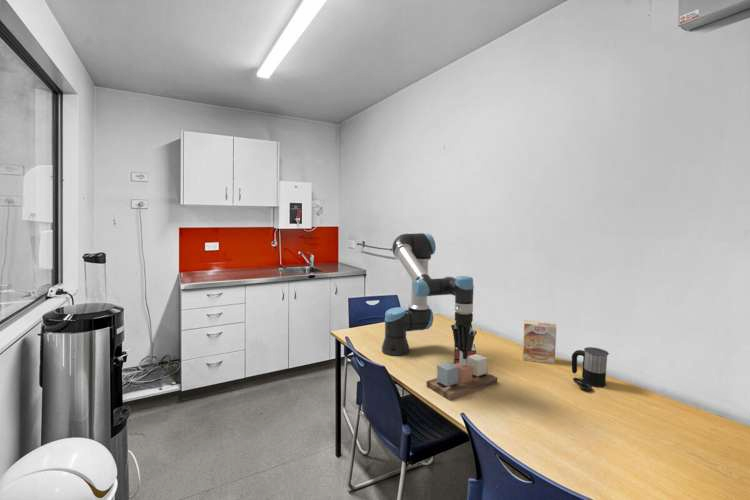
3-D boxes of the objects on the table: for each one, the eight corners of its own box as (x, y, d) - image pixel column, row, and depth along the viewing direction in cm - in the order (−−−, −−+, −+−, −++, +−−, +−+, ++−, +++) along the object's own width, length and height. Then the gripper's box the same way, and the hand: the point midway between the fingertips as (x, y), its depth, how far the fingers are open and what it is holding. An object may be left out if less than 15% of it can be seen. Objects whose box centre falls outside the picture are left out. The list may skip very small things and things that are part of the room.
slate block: (437, 381, 155) (437, 365, 154) (447, 377, 158) (447, 362, 158) (447, 386, 150) (447, 370, 149) (457, 383, 153) (457, 367, 153)
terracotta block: (452, 380, 160) (452, 364, 159) (462, 376, 163) (462, 361, 163) (462, 385, 155) (462, 369, 154) (472, 381, 158) (472, 366, 158)
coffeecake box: (522, 360, 187) (524, 323, 185) (522, 355, 193) (524, 319, 192) (555, 364, 181) (556, 326, 179) (553, 359, 188) (555, 322, 186)
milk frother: (603, 380, 164) (605, 348, 163) (613, 396, 149) (615, 361, 148) (568, 375, 169) (569, 344, 167) (574, 390, 154) (576, 357, 152)
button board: (426, 386, 157) (426, 381, 157) (473, 371, 173) (473, 366, 173) (449, 400, 146) (449, 394, 145) (497, 382, 161) (497, 377, 161)
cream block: (467, 371, 165) (467, 356, 164) (476, 368, 168) (476, 353, 167) (477, 376, 160) (477, 360, 159) (486, 373, 163) (486, 358, 162)
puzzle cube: (475, 371, 174) (476, 350, 173) (454, 369, 176) (454, 349, 175) (474, 362, 183) (474, 343, 183) (454, 361, 185) (454, 342, 185)
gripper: (446, 310, 160) (446, 362, 162) (469, 316, 149) (468, 372, 151) (459, 307, 164) (458, 358, 166) (481, 314, 153) (480, 368, 155)
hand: (462, 365), depth 158 cm, fingers closed
